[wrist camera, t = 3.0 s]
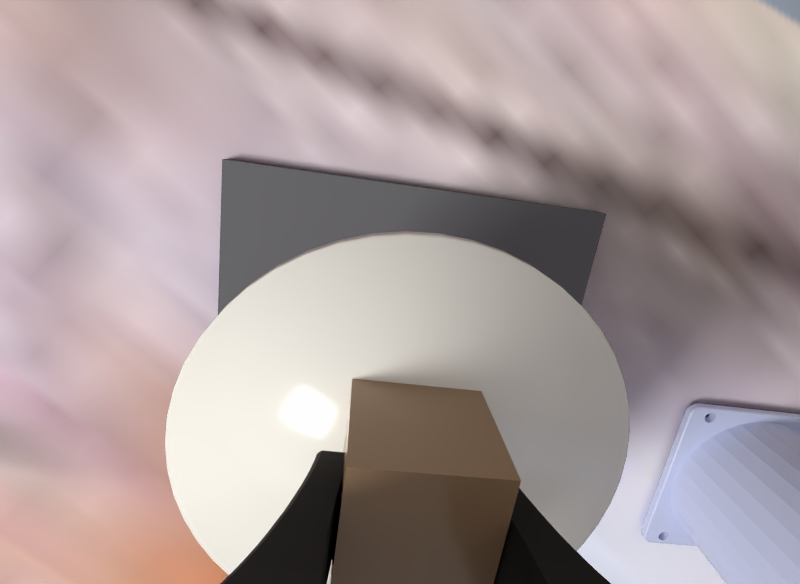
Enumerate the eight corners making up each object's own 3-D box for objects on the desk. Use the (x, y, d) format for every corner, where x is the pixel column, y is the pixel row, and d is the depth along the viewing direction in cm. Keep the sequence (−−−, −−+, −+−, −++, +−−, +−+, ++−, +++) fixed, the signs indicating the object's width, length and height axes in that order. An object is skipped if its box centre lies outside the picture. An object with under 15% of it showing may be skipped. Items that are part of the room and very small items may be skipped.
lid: (677, 264, 13) (815, 321, 9) (559, 620, 17) (617, 769, 13) (173, 198, 11) (69, 231, 7) (174, 603, 15) (107, 763, 11)
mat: (600, 212, 19) (606, 214, 19) (524, 491, 24) (527, 498, 23) (226, 158, 18) (222, 159, 18) (217, 463, 22) (213, 471, 22)
